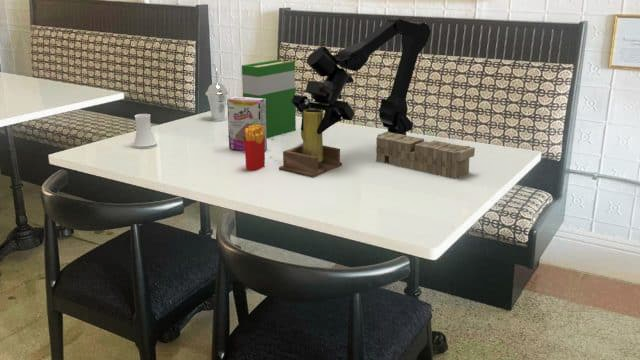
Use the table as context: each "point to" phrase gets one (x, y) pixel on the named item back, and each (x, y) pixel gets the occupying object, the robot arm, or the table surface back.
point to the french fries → (254, 147)
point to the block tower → (424, 155)
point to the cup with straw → (217, 99)
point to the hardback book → (273, 93)
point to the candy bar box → (244, 119)
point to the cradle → (310, 161)
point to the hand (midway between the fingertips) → (309, 132)
